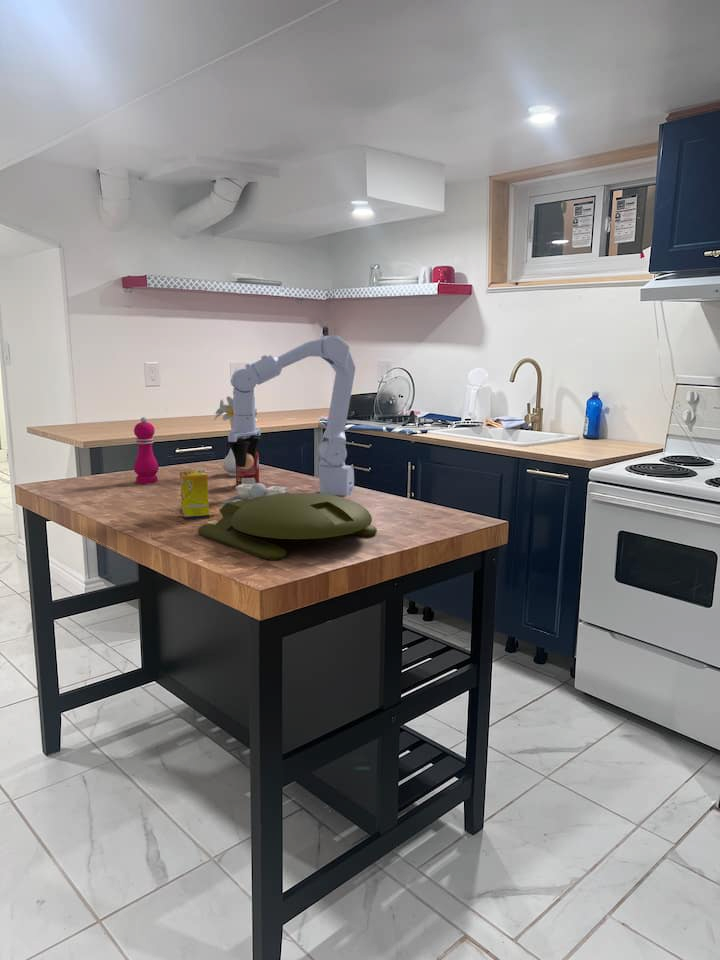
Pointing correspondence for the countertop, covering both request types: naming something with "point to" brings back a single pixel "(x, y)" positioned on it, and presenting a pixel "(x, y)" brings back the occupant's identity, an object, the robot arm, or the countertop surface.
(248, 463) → the terracotta ball
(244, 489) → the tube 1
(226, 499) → the slate board
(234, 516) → the spaceship
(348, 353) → the robot arm
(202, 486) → the supplement box
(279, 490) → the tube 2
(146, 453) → the pepper mill
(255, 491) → the grey ball
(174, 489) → the countertop surface
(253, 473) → the soda can
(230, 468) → the flower vase
